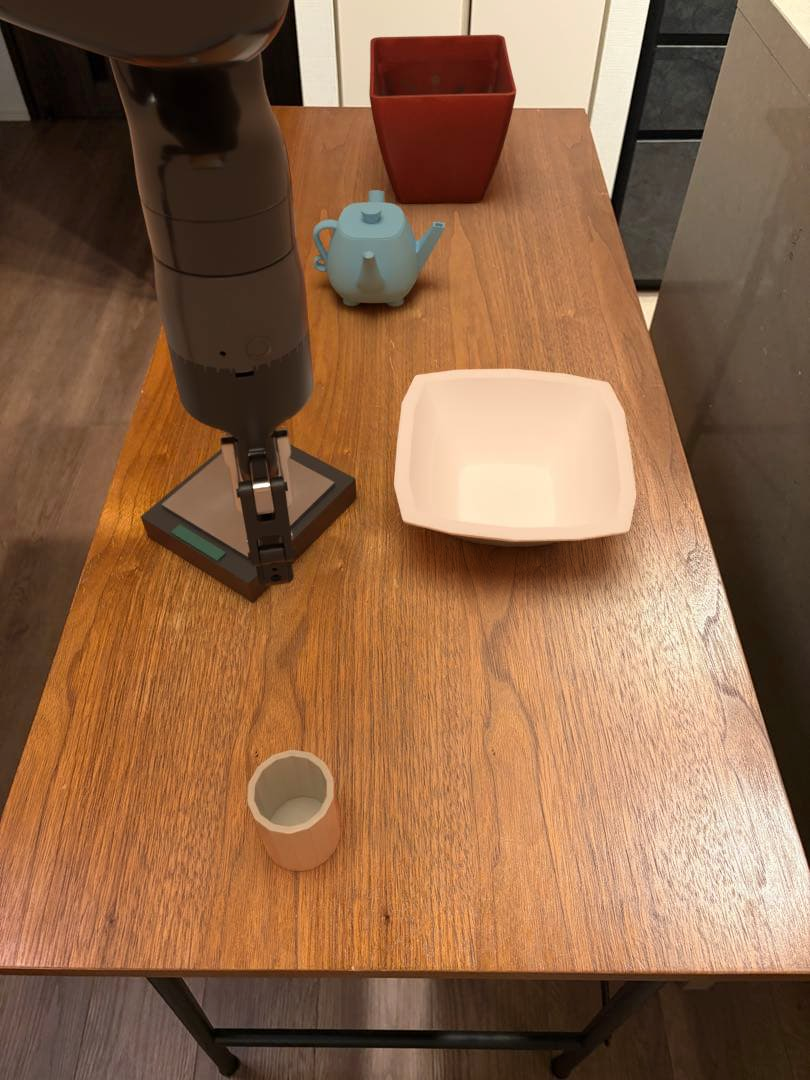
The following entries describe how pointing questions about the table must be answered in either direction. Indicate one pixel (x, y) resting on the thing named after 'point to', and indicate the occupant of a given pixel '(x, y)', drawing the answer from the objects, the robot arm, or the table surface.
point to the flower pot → (440, 113)
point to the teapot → (373, 252)
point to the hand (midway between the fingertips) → (269, 532)
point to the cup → (295, 809)
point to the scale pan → (214, 508)
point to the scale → (225, 560)
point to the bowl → (514, 457)
